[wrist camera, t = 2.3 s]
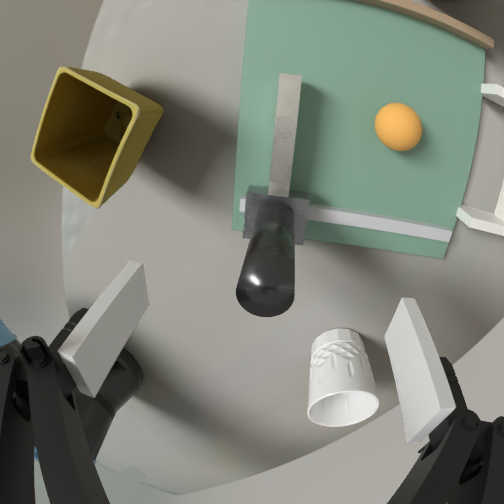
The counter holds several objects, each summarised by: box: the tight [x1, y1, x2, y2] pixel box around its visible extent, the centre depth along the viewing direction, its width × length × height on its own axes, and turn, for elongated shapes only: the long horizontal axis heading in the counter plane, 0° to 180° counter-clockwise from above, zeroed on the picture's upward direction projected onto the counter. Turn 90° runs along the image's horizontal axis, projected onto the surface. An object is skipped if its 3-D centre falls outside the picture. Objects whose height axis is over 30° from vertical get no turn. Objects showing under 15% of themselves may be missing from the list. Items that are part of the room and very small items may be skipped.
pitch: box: [232, 0, 494, 259], centre depth 22 cm, size 22×24×3 cm
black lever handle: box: [236, 73, 310, 317], centre depth 18 cm, size 5×14×12 cm, turn 176°
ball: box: [375, 103, 422, 151], centre depth 20 cm, size 4×4×4 cm
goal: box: [456, 84, 504, 236], centre depth 20 cm, size 8×14×4 cm, turn 176°
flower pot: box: [31, 66, 164, 209], centre depth 22 cm, size 9×9×9 cm
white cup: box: [307, 328, 379, 427], centre depth 32 cm, size 8×8×10 cm
